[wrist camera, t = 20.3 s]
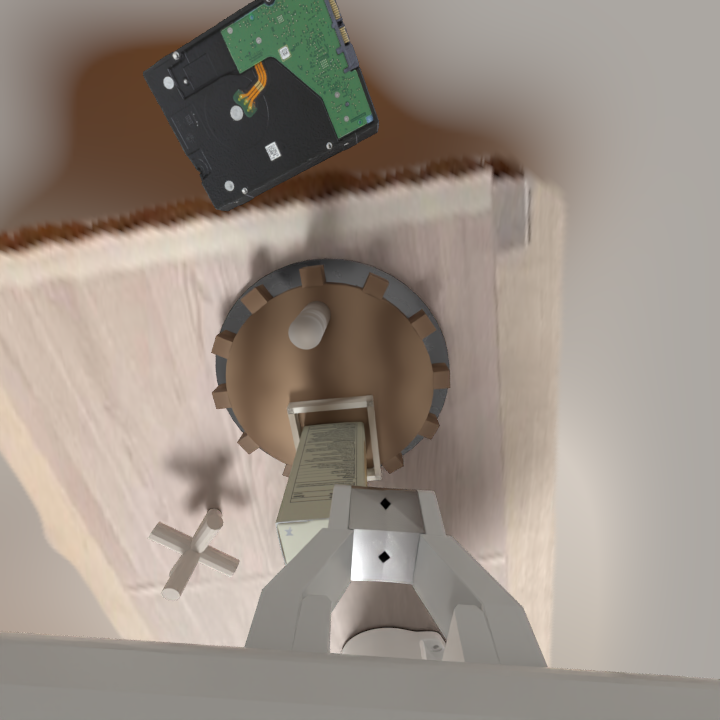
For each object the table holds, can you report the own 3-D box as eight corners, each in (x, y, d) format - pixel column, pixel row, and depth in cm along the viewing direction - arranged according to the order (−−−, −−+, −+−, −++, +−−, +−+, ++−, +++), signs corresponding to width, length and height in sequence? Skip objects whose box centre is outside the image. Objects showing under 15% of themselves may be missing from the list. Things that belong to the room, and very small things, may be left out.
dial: (442, 250, 29) (467, 257, 22) (447, 464, 37) (467, 523, 30) (190, 279, 31) (132, 295, 23) (248, 479, 39) (219, 539, 31)
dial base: (492, 394, 35) (494, 397, 35) (322, 503, 41) (321, 506, 40) (347, 199, 29) (346, 199, 28) (170, 360, 35) (167, 362, 34)
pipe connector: (195, 469, 40) (141, 542, 30) (268, 507, 41) (239, 587, 32) (162, 520, 43) (104, 601, 33) (231, 554, 44) (195, 639, 35)
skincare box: (309, 459, 35) (280, 569, 24) (303, 424, 33) (269, 523, 22) (369, 456, 35) (370, 566, 23) (366, 420, 33) (365, 518, 22)
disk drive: (230, 214, 30) (381, 132, 27) (217, 213, 27) (382, 122, 25) (160, 87, 27) (324, -20, 24) (138, 72, 24) (318, -51, 22)
